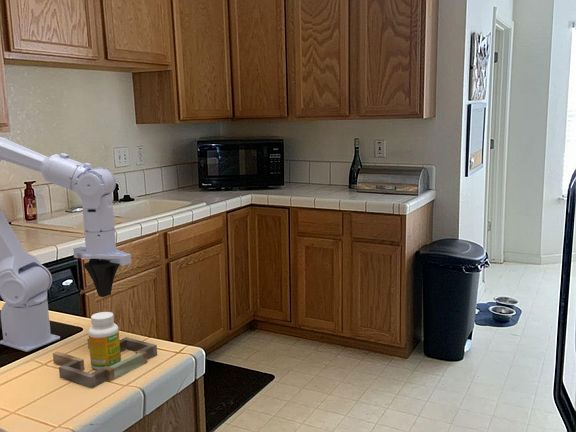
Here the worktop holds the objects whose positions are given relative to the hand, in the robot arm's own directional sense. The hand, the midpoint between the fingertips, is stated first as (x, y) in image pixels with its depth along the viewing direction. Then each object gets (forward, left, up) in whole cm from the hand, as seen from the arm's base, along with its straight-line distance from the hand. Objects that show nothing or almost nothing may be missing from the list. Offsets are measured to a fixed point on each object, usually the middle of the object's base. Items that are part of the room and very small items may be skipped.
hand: (104, 295), depth 113 cm
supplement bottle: (+7, -7, -11) cm, 15 cm away
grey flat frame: (+6, -7, -10) cm, 14 cm away
